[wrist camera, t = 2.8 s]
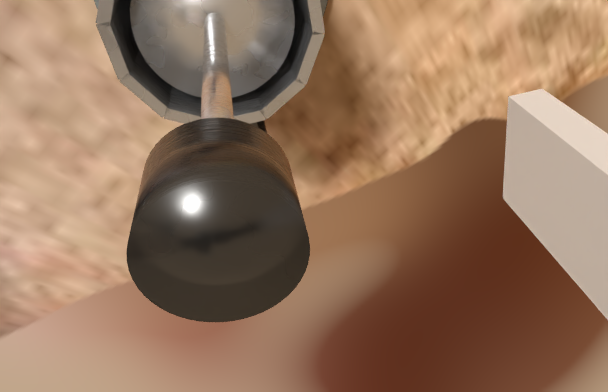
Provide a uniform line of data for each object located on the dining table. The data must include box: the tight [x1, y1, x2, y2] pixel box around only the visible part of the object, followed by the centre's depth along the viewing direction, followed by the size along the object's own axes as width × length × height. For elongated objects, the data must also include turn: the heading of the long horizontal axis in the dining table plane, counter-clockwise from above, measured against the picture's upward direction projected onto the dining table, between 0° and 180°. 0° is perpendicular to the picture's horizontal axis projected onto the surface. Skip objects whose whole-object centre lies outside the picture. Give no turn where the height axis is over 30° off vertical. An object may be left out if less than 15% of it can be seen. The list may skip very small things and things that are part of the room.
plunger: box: [127, 0, 310, 322], centre depth 18 cm, size 8×8×19 cm
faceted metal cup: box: [96, 0, 325, 133], centre depth 30 cm, size 11×13×12 cm
